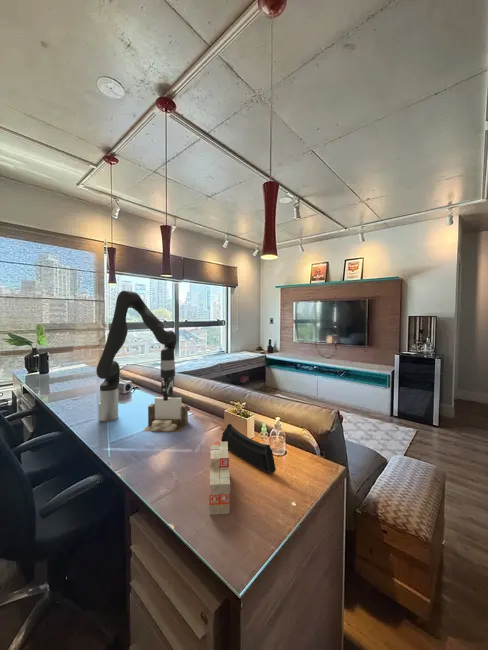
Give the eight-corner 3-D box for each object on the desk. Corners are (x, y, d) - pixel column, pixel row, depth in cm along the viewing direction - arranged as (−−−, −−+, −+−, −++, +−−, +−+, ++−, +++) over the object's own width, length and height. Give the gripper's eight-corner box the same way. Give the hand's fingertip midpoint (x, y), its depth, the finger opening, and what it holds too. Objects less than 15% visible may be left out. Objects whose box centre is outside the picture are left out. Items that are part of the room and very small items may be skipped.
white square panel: (154, 424, 144) (154, 398, 144) (156, 422, 146) (156, 397, 146) (180, 424, 143) (180, 398, 143) (181, 423, 145) (181, 397, 145)
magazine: (281, 452, 98) (232, 408, 120) (275, 455, 96) (226, 410, 117) (271, 489, 102) (225, 441, 124) (265, 493, 100) (220, 443, 122)
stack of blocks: (230, 514, 80) (230, 473, 79) (208, 516, 79) (208, 474, 79) (227, 472, 101) (227, 440, 101) (211, 473, 100) (210, 441, 100)
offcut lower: (150, 430, 136) (150, 426, 136) (153, 427, 140) (153, 423, 140) (174, 430, 135) (174, 427, 135) (176, 427, 139) (176, 423, 139)
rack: (142, 433, 135) (142, 411, 135) (152, 422, 149) (152, 402, 149) (181, 433, 134) (181, 412, 134) (188, 422, 148) (188, 403, 148)
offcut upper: (152, 426, 136) (151, 422, 136) (154, 423, 140) (154, 419, 140) (169, 426, 136) (169, 422, 136) (171, 424, 139) (171, 420, 139)
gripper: (165, 365, 151) (165, 394, 152) (156, 370, 137) (156, 402, 137) (178, 365, 151) (179, 394, 151) (170, 370, 137) (171, 402, 137)
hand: (168, 398), depth 144 cm, fingers open, 8 cm apart
